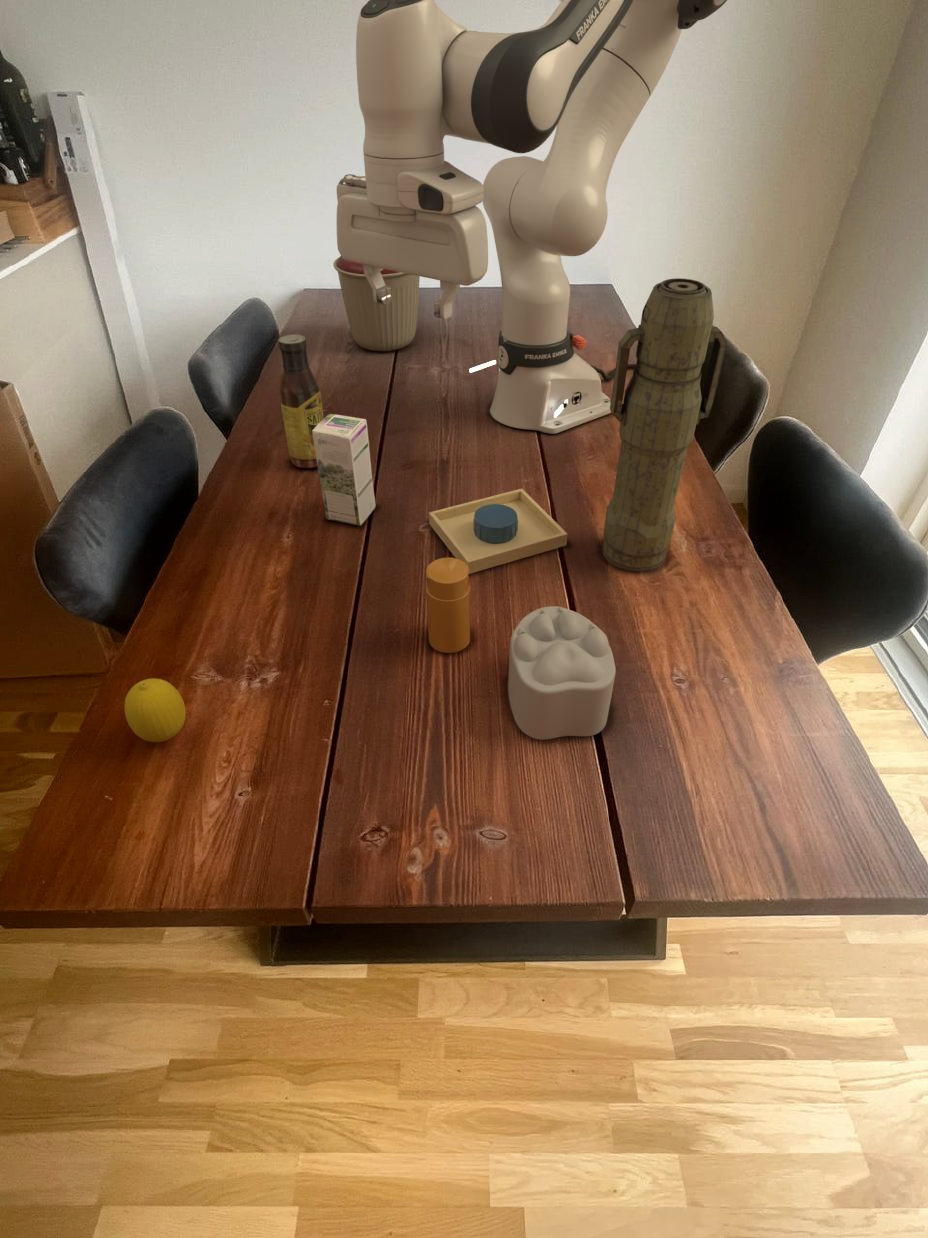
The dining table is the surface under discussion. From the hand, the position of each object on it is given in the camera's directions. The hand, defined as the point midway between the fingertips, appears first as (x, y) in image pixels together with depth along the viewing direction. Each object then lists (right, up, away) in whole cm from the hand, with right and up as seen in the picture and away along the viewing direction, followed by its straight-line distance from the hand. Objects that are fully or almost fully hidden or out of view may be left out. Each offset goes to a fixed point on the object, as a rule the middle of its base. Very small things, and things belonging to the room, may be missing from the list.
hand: (412, 309), depth 91 cm
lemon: (-25, -51, -14) cm, 58 cm away
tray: (+11, -26, +13) cm, 32 cm away
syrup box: (-10, -23, +18) cm, 31 cm away
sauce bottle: (-19, -13, +30) cm, 37 cm away
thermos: (+30, -30, +10) cm, 43 cm away
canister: (-11, +21, +68) cm, 72 cm away
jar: (+5, -41, -3) cm, 41 cm away
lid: (+11, -24, +11) cm, 29 cm away
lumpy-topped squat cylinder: (+16, -47, -10) cm, 51 cm away
